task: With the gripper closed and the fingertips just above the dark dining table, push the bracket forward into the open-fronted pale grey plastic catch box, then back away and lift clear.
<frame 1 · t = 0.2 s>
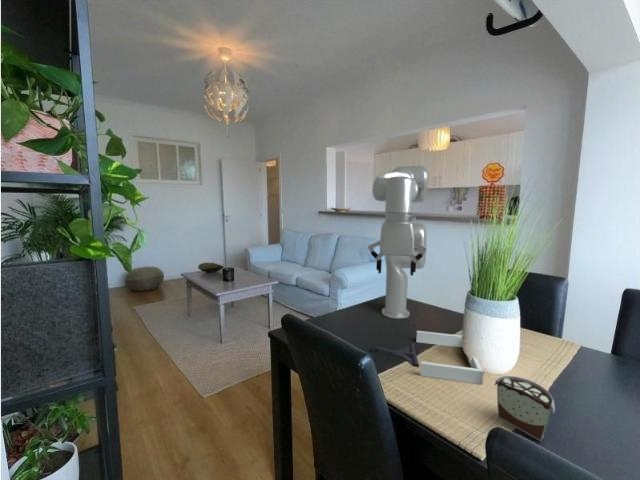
hand: (395, 273, 95), 31 cm above the table, tool pointing down, fingers open, 9 cm apart
catch box: (443, 359, 102), on the table
mint chocolate cake slice: (523, 424, 74), on the table
bracket: (394, 355, 107), on the table
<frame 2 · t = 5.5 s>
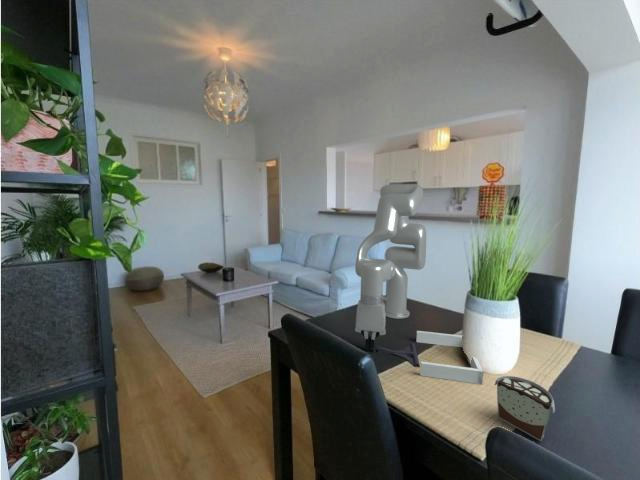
hand: (369, 348, 108), 1 cm above the table, tool pointing down, fingers closed
nothing on the table moved.
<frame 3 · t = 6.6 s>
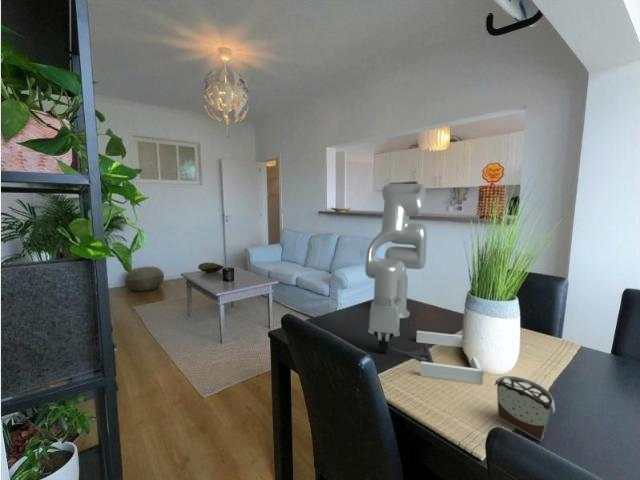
hand: (383, 349, 107), 1 cm above the table, tool pointing down, fingers closed
bracket: (408, 357, 105), on the table, touching gripper
everything else where it was.
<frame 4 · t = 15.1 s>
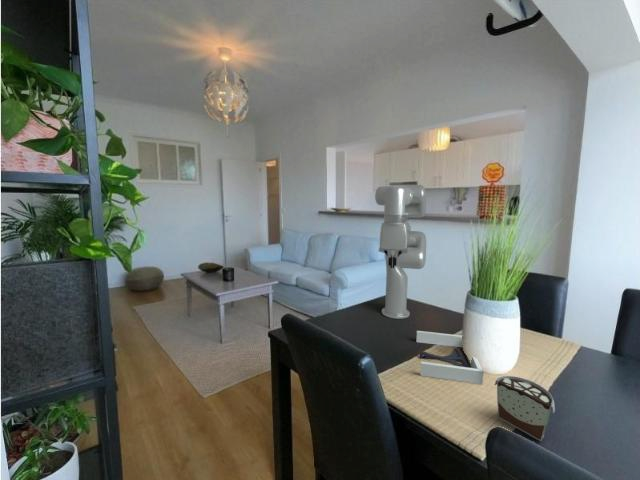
hand: (392, 267, 117), 27 cm above the table, tool pointing down, fingers closed
bracket: (442, 361, 103), on the table
everything else where it was.
at the end: bracket inside the target area (0.7 cm from its centre), on the table; bracket moved 15.9 cm from its start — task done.
